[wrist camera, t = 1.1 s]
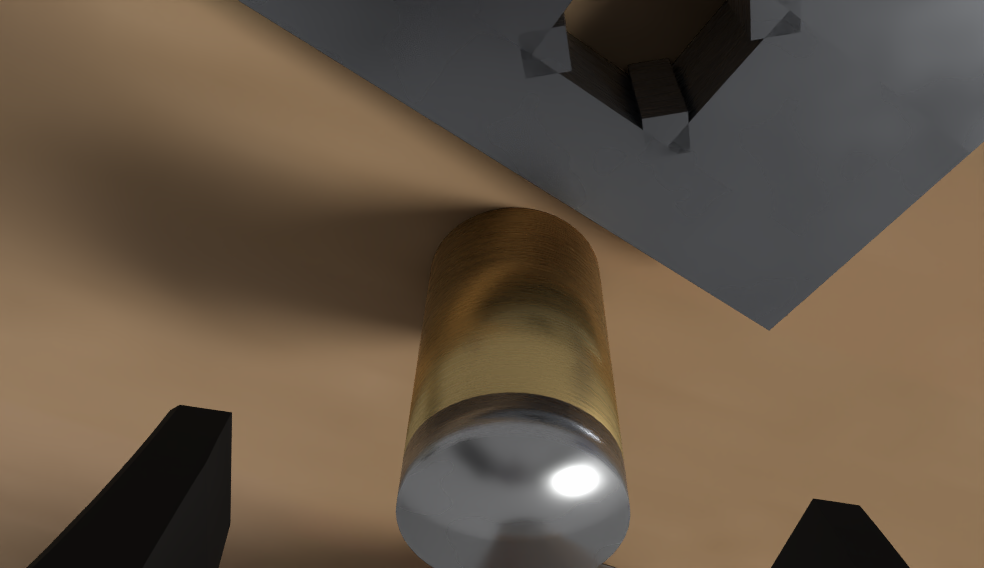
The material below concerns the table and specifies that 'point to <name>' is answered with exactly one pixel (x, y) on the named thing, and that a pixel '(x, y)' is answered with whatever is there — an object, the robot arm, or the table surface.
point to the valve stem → (514, 404)
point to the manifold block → (693, 120)
